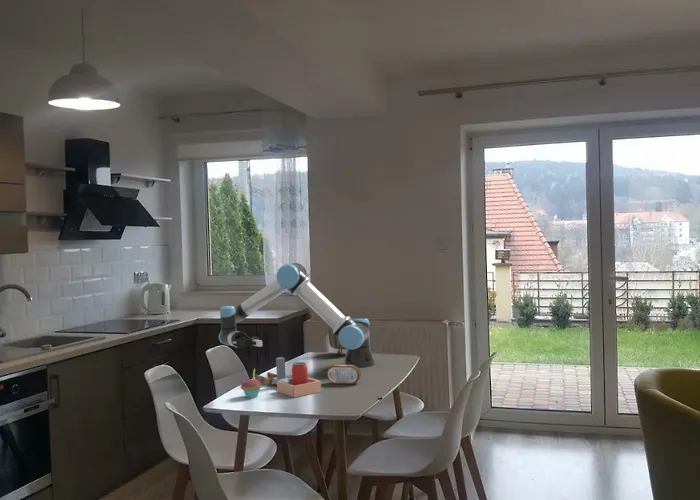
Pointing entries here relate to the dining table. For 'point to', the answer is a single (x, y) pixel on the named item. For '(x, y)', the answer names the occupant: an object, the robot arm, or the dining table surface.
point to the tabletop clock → (335, 339)
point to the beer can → (299, 373)
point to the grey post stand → (281, 372)
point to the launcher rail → (266, 379)
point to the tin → (343, 374)
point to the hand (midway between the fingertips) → (260, 343)
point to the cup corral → (299, 388)
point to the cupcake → (251, 387)
